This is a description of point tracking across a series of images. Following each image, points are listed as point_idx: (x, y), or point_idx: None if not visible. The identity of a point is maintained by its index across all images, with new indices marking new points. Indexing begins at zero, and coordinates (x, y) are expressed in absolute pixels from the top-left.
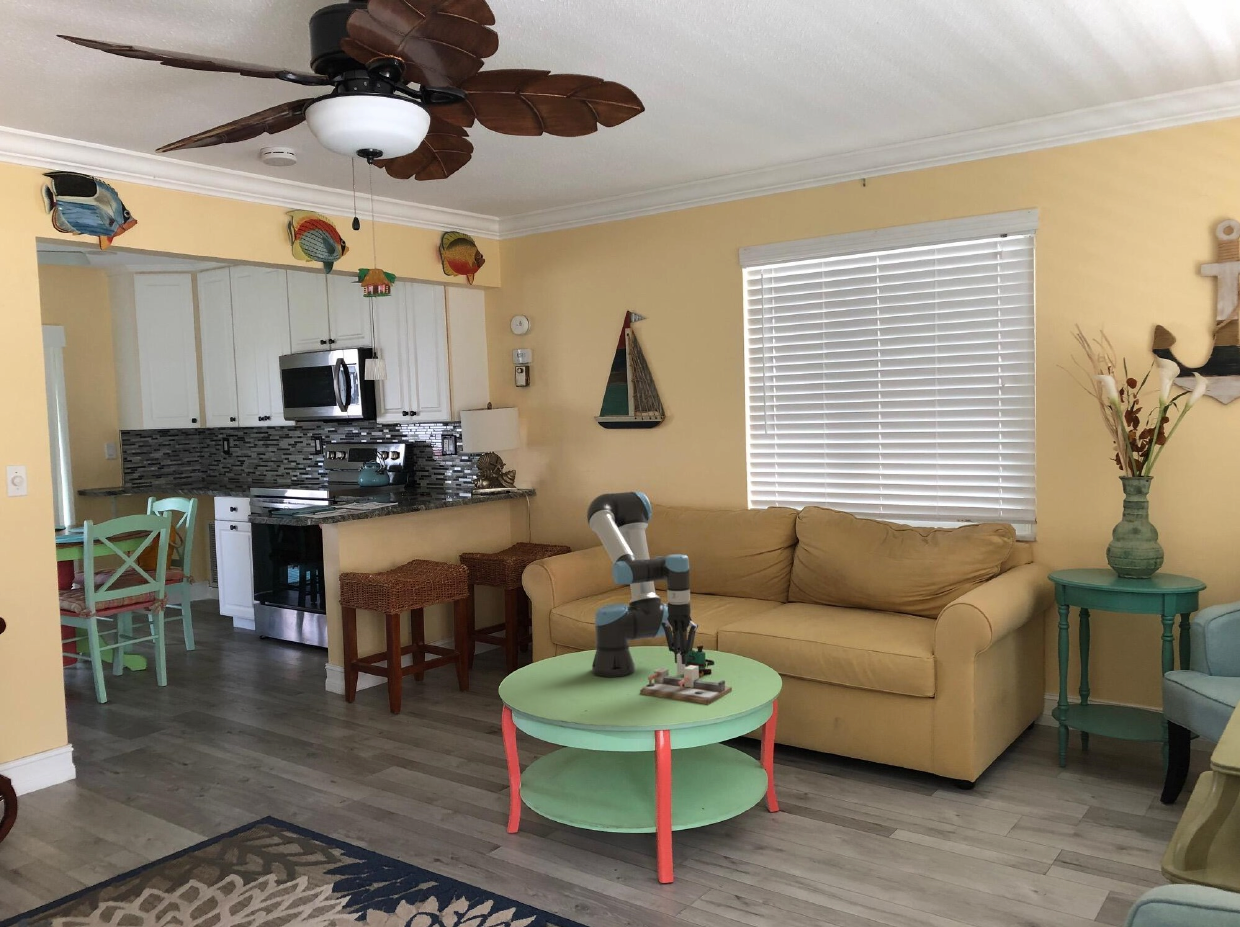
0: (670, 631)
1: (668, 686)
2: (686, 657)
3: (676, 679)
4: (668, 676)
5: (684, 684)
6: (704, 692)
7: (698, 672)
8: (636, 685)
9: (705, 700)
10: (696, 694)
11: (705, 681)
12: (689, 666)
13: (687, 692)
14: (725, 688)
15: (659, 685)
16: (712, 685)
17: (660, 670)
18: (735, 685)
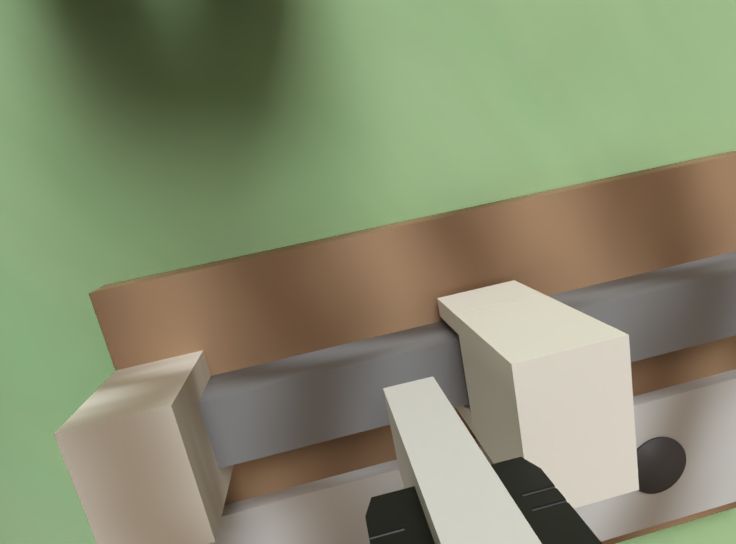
0: None
1: (365, 508)
2: (585, 534)
3: (367, 428)
4: (235, 415)
5: (461, 414)
6: (683, 432)
7: (578, 314)
8: (16, 534)
9: (734, 503)
10: (659, 500)
11: (628, 309)
12: (538, 416)
13: (582, 512)
14: (734, 214)
15: (285, 538)
16: (714, 335)
17: (149, 507)
18: (690, 2)
